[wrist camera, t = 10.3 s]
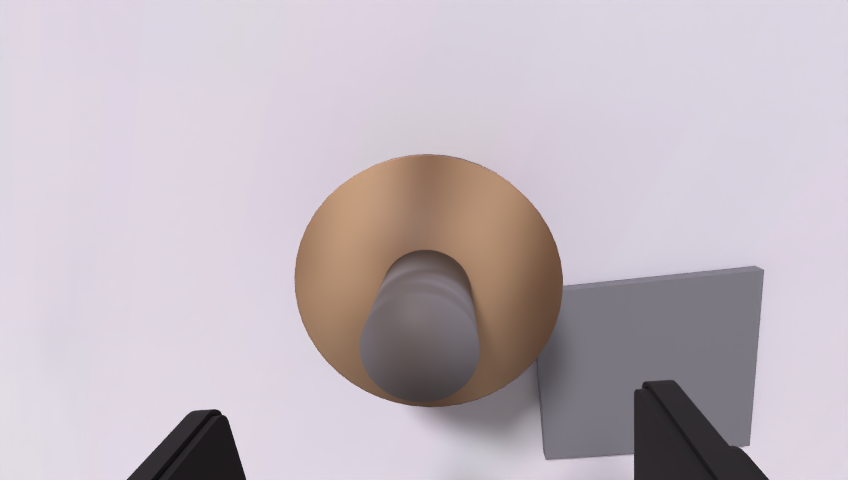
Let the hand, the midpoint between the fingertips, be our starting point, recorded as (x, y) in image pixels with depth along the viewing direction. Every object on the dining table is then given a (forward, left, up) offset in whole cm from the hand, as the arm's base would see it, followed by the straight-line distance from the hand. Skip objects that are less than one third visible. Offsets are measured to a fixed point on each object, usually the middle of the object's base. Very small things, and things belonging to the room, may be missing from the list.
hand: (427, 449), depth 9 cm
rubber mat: (-13, +12, -20) cm, 27 cm away
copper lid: (0, 0, -11) cm, 11 cm away
